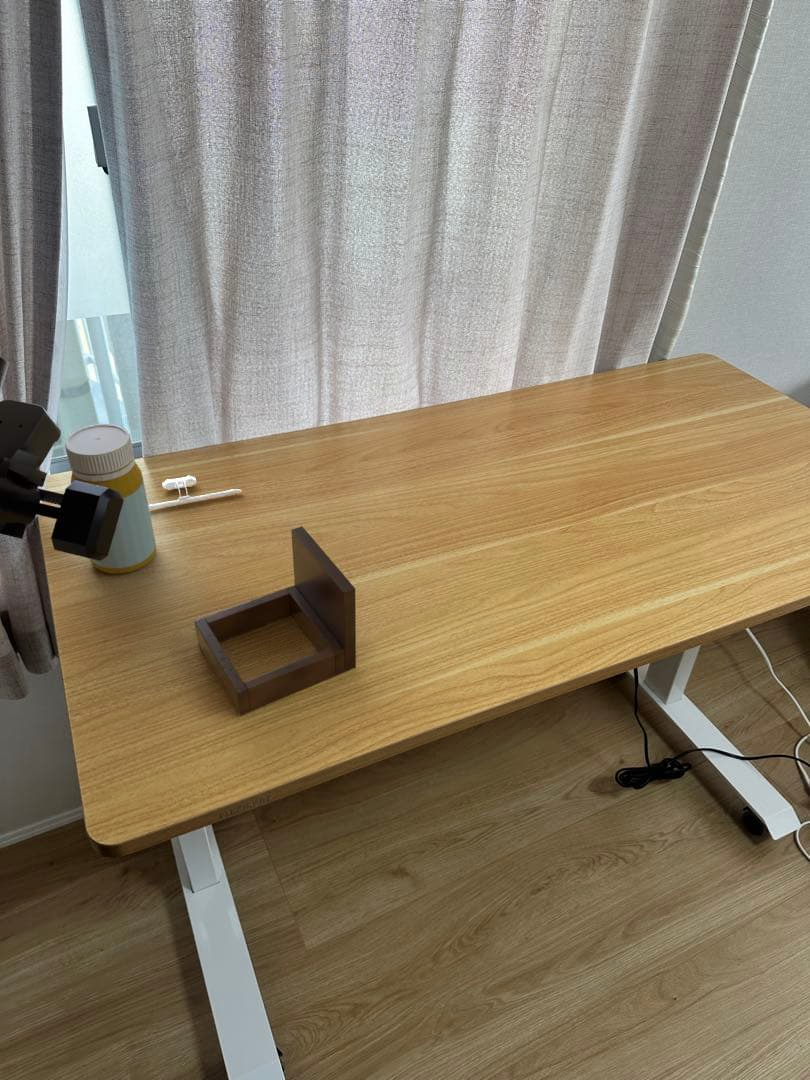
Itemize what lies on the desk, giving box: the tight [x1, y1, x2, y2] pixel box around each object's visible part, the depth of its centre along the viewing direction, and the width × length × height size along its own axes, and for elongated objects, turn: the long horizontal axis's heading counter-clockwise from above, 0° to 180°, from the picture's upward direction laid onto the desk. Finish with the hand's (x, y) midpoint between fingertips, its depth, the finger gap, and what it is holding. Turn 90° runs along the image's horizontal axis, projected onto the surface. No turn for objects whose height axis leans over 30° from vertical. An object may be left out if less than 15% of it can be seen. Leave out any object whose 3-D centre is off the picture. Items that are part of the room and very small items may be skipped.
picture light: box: [148, 474, 243, 511], centre depth 98 cm, size 14×4×2 cm, turn 112°
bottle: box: [64, 423, 157, 575], centre depth 84 cm, size 7×7×15 cm
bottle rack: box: [193, 525, 357, 717], centre depth 75 cm, size 12×11×10 cm
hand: (72, 521), depth 79 cm, fingers open, 9 cm apart
